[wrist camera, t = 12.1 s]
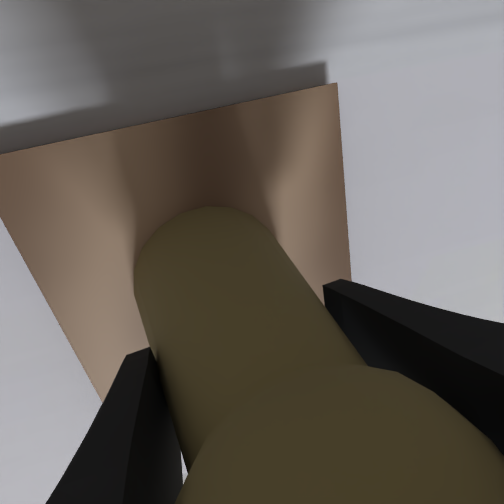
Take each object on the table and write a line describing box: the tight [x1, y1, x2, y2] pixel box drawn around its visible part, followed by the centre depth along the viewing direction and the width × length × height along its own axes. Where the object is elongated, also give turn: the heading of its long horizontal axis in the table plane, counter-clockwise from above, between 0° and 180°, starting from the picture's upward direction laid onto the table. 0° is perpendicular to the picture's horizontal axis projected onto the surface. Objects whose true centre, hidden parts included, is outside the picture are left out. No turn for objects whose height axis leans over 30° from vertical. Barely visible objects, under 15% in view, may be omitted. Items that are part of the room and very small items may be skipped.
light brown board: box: [0, 82, 351, 403], centre depth 13 cm, size 12×12×1 cm
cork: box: [134, 206, 504, 504], centre depth 8 cm, size 6×6×11 cm
